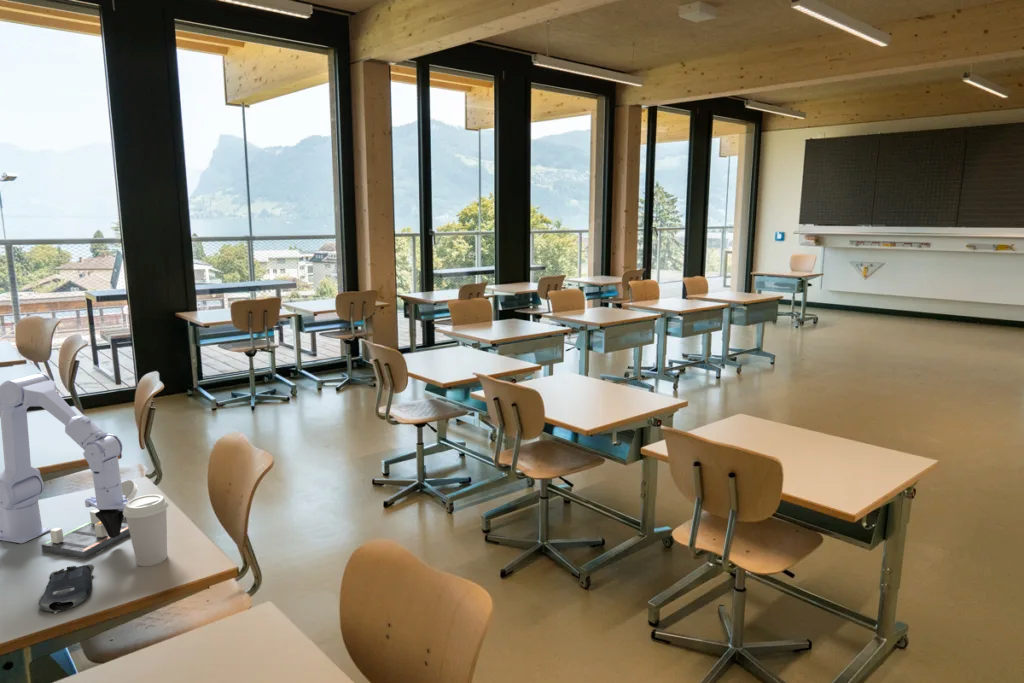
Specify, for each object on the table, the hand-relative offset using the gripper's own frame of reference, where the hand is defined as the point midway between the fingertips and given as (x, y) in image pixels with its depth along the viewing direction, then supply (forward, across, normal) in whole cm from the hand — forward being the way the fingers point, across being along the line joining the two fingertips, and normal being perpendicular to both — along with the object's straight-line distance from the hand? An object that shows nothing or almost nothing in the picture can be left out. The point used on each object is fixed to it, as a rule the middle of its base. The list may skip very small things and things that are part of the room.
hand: (114, 536), depth 168 cm
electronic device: (+3, -9, +20) cm, 23 cm away
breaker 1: (0, +12, +6) cm, 14 cm away
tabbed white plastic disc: (+3, +16, -16) cm, 23 cm away
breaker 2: (0, +12, -6) cm, 14 cm away
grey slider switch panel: (+3, +8, 0) cm, 9 cm away
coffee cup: (+3, -15, +3) cm, 15 cm away
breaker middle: (0, +4, 0) cm, 4 cm away
